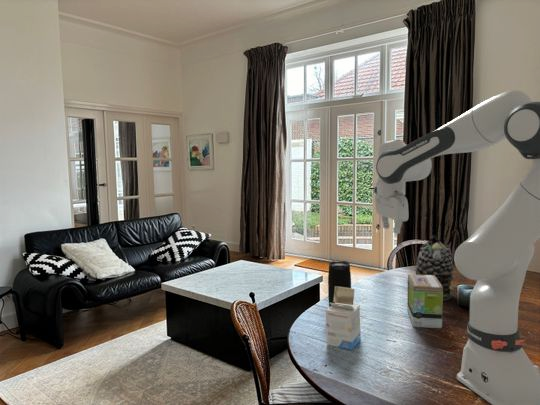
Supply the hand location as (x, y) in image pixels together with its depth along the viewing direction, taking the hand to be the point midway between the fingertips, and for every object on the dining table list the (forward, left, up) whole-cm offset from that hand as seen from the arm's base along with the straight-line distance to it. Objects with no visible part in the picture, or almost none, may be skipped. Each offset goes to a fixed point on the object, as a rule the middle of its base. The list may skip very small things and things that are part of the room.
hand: (391, 230), depth 137 cm
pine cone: (+29, -30, -34) cm, 54 cm away
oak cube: (-8, +19, -21) cm, 30 cm away
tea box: (+5, -14, -34) cm, 38 cm away
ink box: (-8, +19, -34) cm, 40 cm away
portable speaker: (+16, +14, -34) cm, 40 cm away
